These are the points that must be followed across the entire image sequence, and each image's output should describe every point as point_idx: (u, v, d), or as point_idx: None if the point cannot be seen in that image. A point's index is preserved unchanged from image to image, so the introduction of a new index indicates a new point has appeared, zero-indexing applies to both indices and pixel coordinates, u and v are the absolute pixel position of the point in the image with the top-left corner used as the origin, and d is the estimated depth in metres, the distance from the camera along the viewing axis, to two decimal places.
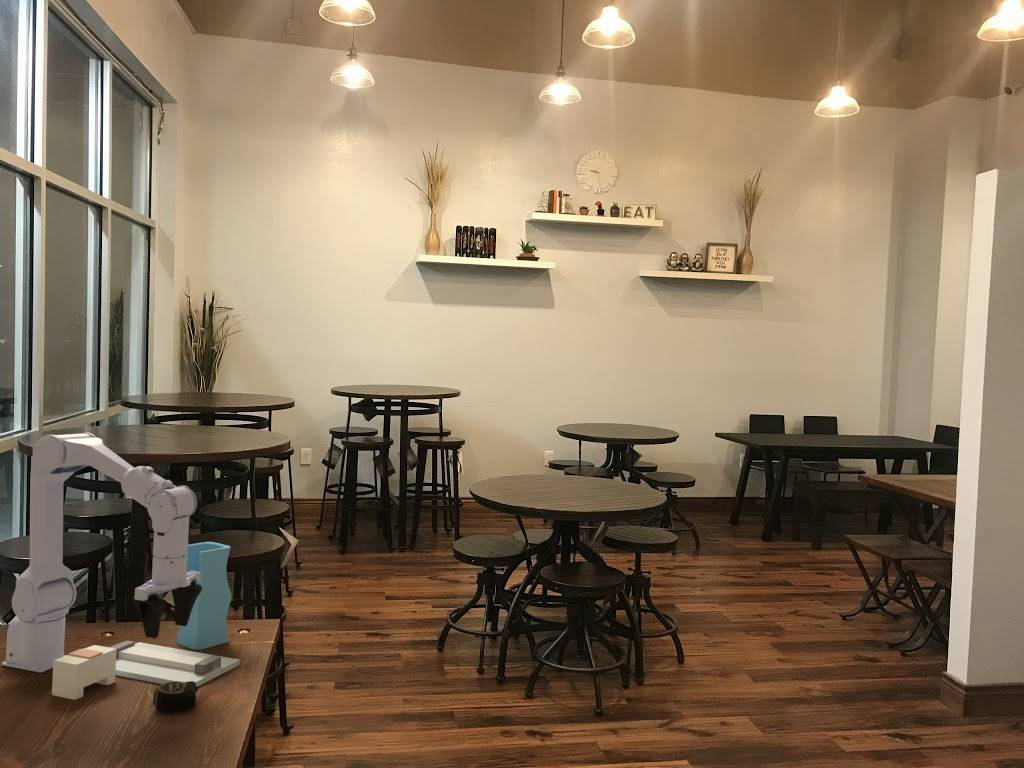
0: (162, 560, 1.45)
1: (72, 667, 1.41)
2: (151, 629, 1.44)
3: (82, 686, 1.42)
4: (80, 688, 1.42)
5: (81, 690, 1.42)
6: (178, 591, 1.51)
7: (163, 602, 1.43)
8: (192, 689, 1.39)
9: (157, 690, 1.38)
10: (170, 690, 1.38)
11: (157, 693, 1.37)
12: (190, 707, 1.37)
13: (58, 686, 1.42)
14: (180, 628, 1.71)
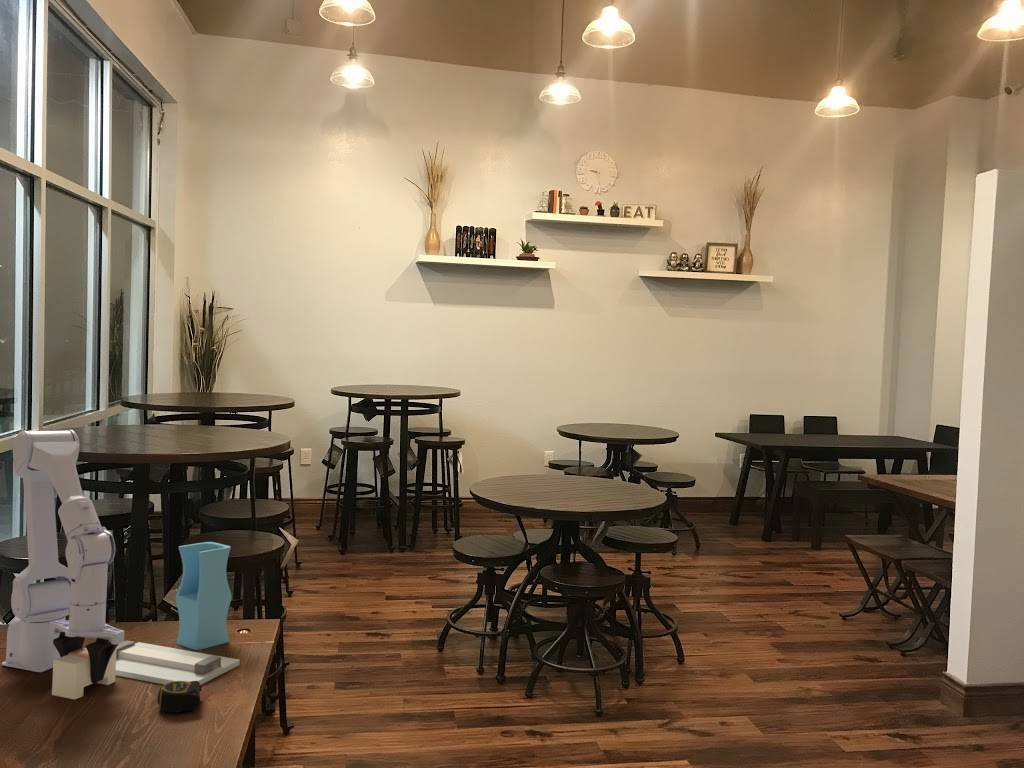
0: None
1: (72, 667, 1.41)
2: None
3: (82, 686, 1.42)
4: (80, 688, 1.42)
5: (81, 690, 1.42)
6: None
7: (58, 643, 1.44)
8: (196, 689, 1.40)
9: (161, 689, 1.38)
10: (174, 689, 1.38)
11: (161, 692, 1.37)
12: (194, 706, 1.37)
13: (58, 686, 1.42)
14: (180, 628, 1.71)
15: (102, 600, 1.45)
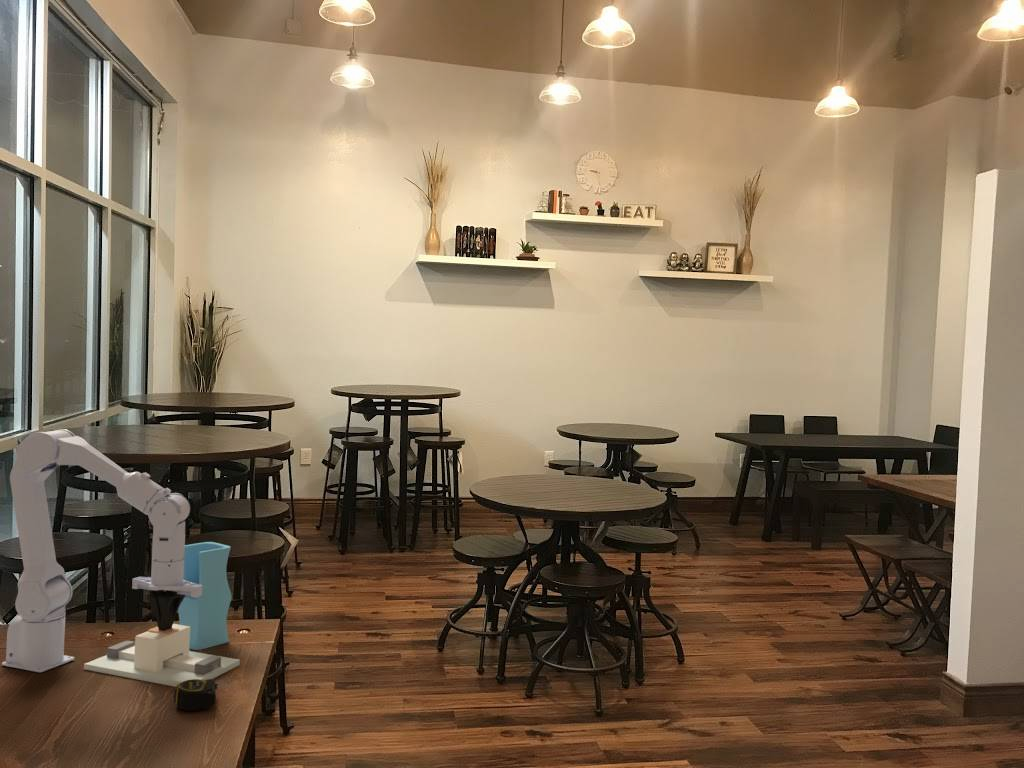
0: (153, 559, 1.58)
1: (154, 642, 1.52)
2: None
3: (162, 660, 1.53)
4: (160, 662, 1.53)
5: (161, 663, 1.53)
6: None
7: (152, 598, 1.55)
8: (212, 687, 1.41)
9: (177, 688, 1.39)
10: (190, 687, 1.39)
11: (177, 690, 1.38)
12: (210, 705, 1.38)
13: (140, 660, 1.53)
14: None
15: None
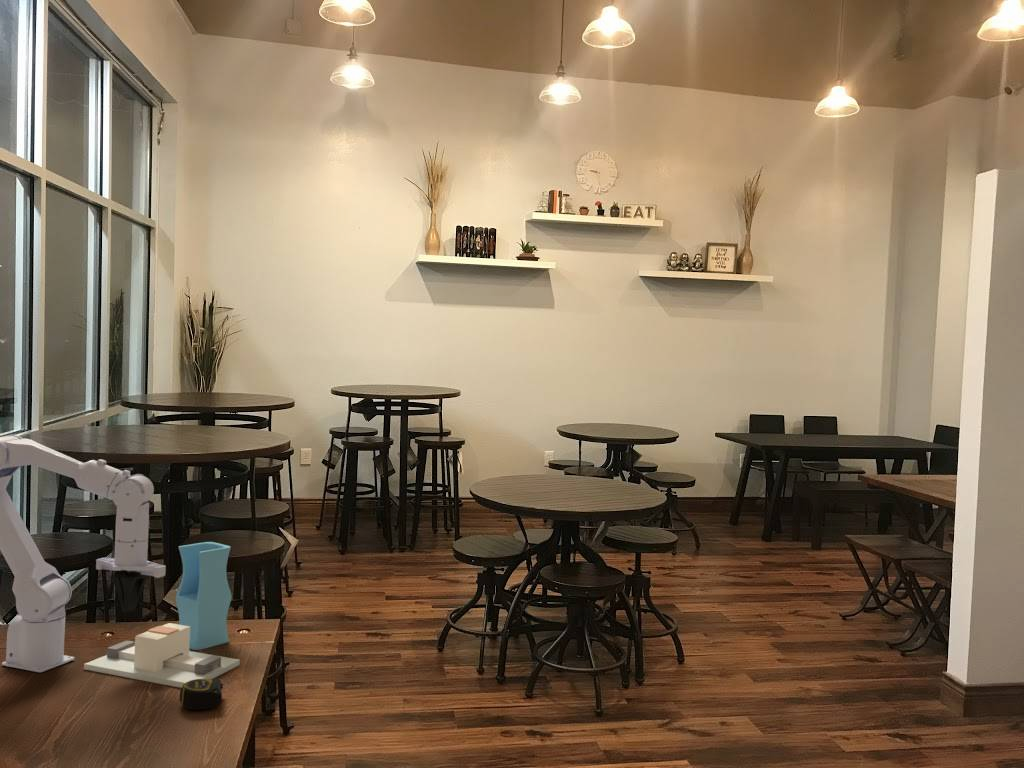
0: None
1: (154, 642, 1.52)
2: None
3: (162, 660, 1.53)
4: (160, 661, 1.53)
5: (161, 663, 1.53)
6: None
7: (115, 578, 1.55)
8: (218, 686, 1.41)
9: (183, 687, 1.39)
10: (196, 687, 1.40)
11: (184, 690, 1.39)
12: (216, 704, 1.39)
13: (140, 660, 1.53)
14: None
15: None
